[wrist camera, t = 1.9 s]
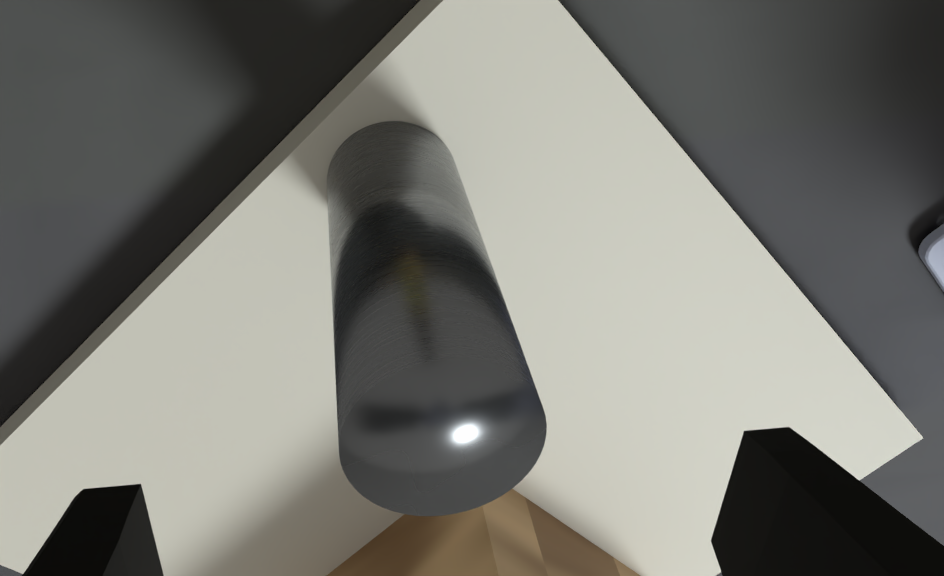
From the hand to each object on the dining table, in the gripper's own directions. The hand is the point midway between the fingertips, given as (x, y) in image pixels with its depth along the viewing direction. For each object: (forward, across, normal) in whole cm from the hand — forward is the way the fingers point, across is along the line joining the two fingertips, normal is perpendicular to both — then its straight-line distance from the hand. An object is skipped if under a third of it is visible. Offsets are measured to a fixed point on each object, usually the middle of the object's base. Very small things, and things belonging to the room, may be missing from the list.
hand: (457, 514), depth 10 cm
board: (+10, -2, +9) cm, 14 cm away
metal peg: (+9, 0, 0) cm, 9 cm away
